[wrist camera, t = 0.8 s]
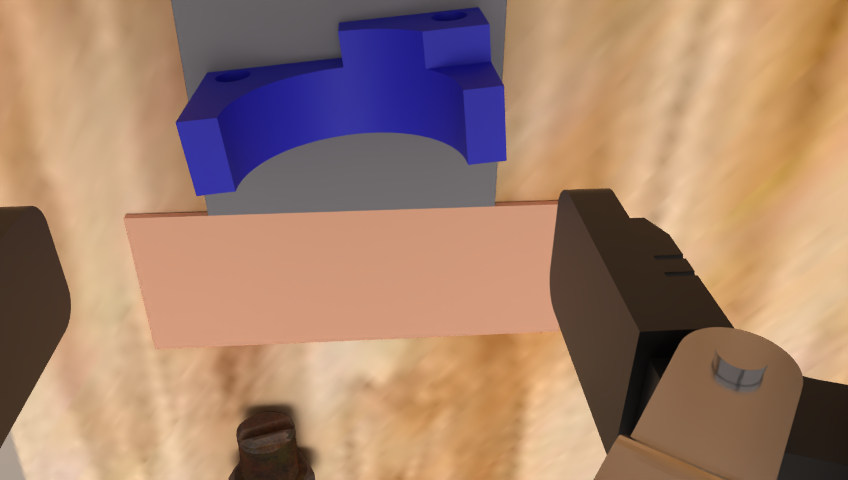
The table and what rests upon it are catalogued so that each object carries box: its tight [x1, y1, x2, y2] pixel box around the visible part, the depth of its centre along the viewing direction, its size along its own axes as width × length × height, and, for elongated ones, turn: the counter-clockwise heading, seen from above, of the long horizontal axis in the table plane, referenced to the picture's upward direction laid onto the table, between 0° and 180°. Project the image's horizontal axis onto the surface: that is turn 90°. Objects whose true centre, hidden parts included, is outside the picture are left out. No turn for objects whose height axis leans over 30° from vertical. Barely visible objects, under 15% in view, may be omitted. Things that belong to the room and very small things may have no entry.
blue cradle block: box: [176, 7, 506, 196], centre depth 29 cm, size 12×4×6 cm, turn 95°
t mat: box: [124, 0, 559, 349], centre depth 34 cm, size 20×22×1 cm
